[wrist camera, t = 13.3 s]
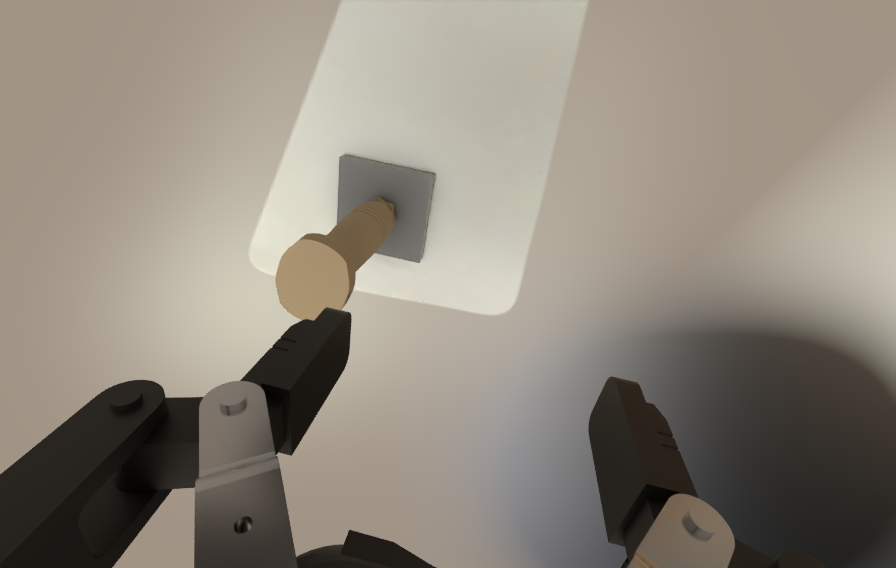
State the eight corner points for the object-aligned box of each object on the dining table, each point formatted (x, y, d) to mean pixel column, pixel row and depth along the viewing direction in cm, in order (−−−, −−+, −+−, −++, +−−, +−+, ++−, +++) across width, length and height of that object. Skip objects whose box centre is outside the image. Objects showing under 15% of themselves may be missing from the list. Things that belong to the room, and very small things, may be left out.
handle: (349, 228, 41) (268, 303, 28) (370, 171, 38) (289, 226, 25) (392, 249, 41) (331, 334, 28) (416, 195, 38) (360, 262, 25)
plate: (344, 154, 39) (339, 156, 38) (435, 173, 38) (432, 176, 37) (340, 240, 43) (336, 244, 42) (422, 258, 42) (419, 263, 41)
